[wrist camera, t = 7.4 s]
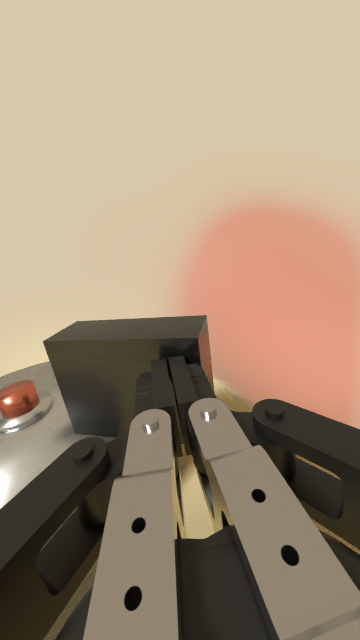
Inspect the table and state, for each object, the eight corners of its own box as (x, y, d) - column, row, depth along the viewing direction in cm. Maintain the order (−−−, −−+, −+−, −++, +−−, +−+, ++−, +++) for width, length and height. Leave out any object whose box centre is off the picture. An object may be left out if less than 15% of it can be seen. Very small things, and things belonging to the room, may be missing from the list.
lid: (-231, 528, 13) (-346, 418, 11) (26, 362, 28) (3, 302, 26) (185, 665, 7) (139, 490, 5) (223, 363, 23) (217, 286, 20)
